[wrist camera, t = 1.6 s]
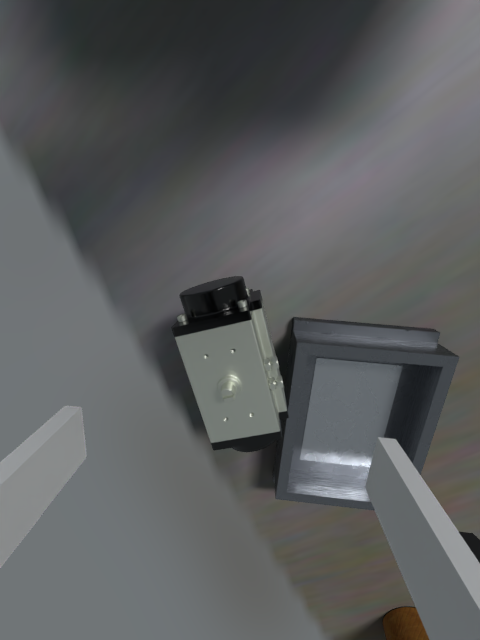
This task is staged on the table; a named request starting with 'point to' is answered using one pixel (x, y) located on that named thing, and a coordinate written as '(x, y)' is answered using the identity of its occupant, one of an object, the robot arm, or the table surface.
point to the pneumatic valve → (231, 364)
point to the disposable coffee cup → (404, 625)
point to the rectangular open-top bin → (355, 405)
